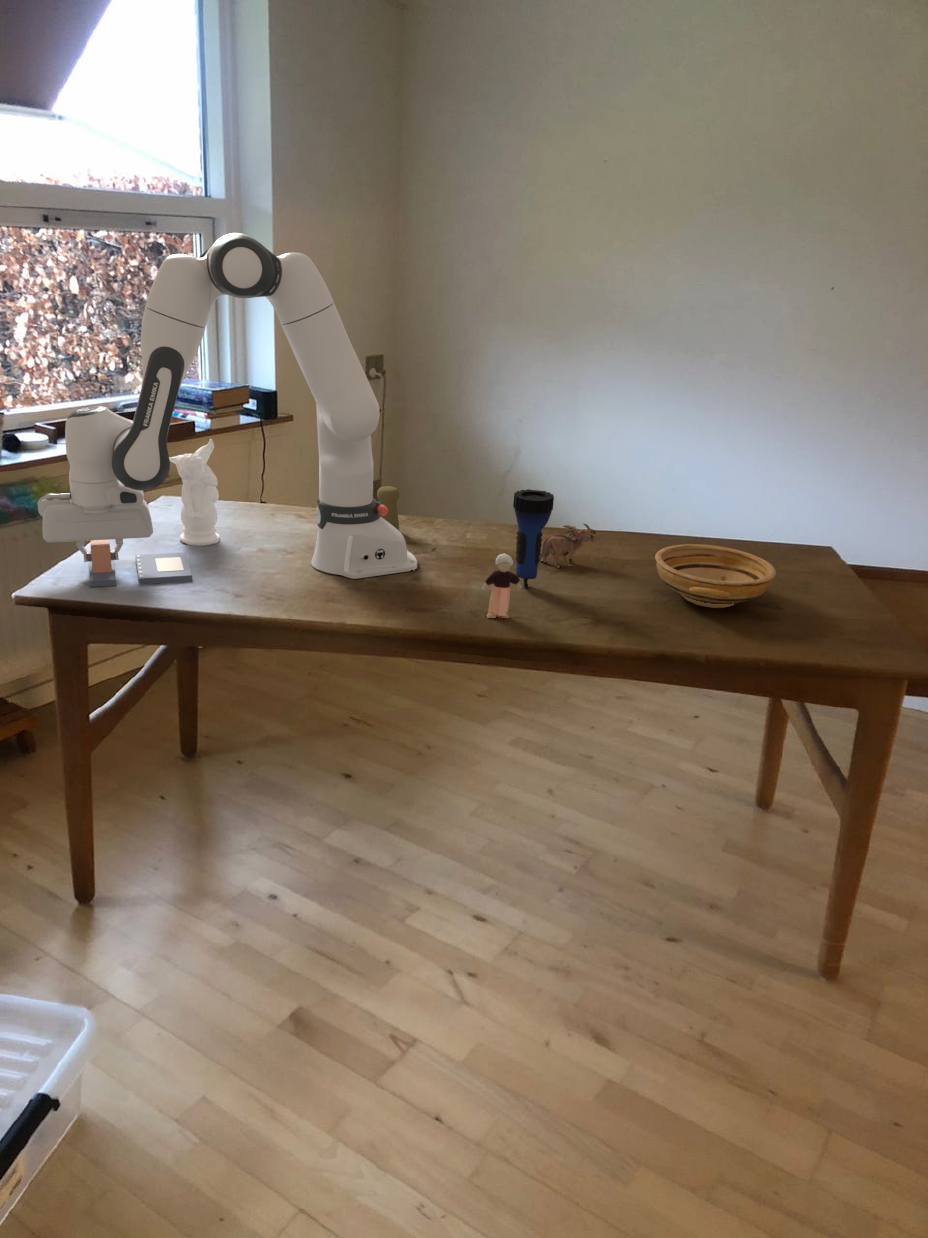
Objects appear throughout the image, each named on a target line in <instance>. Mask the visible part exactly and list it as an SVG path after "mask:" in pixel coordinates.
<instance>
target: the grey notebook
mask: <svg viewBox="0 0 928 1238" xmlns="http://www.w3.org/2000/svg"><path fill="white" fill-rule="evenodd" d="M135 564H136V569H137V577H138V582H139V585H148V584H151V585H153V584H162V583H163V584H164V583H180V582H182V583H183V582H193V574H192V570H191V567H190V564H189V560H188V557H187V554H186V552H168V553H152V554H150V553H149V554H135Z"/></svg>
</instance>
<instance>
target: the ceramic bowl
mask: <svg viewBox="0 0 928 1238" xmlns="http://www.w3.org/2000/svg"><path fill="white" fill-rule="evenodd" d="M654 559H655V561H656V565H655V566H656V570H657V573H658V575H659V577H660V579H661V580H662V582H663V583H664V585H665V586H667V587H668V588H670V589H671V590H673V591H674V592H676V593H678V594H680V595H681V596H682V595H684V596H686V597H688V598H691V599H693V600H696V601H700V602H704V603H711V604H732V603H736V604H737V603H742V602H748V601H751V600H754V599H756V598H758V597H760V596H761V595H763V594H764V593H765V592H766V591H767V590H768V588H769V587H770V585H771V583H772V582H773V579H774V578H775V577H776V573H777V571H776V569H775V567H774V566H773V564H771V563H770V562H769V561H767V560H765V559H764V558H762V557H759V556H756V555H755V554H753V553H749V552H746V551H743V550H739V549H735V548H730V547H726V546H720V545H712V544H698V543H696V544H694V543H688V544H676V545H671V546H666V547H664V548H662V549H660V550H658V551H657V552H656V553H655V555H654Z"/></svg>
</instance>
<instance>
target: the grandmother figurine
mask: <svg viewBox="0 0 928 1238" xmlns="http://www.w3.org/2000/svg"><path fill="white" fill-rule="evenodd" d="M513 564H514V560H513V559H512V556H510V554H507V553H501V554H500V553H499V554H498V555H497V557H496V558H495V565H496V568H497V570H495V571H493V572H492V573H491V574H490V575H489V576H488V577H487V578H486V579H485V581H484V583H483V586H481V589H480V590H481V591H482V592H487V589H488V588H489V587H490V586H491V585H492V588H491V592H490V597H489V603H488V610H487V611H488V613H487V615H486V616H487V617H488V618H496V617H499V618H500V617H501V618H508V617H509V618H510V615H509V614H508V611H509V606H510V605H509V604H510V599H511V598H510V597H511V584H513V585H515V587H516V590H518V591H520V590H522V585H521V582H520V580H521V578H519V577H517V575H516V573H514V572H511V571H510V569H511V567H512V566H513ZM488 618H487V619H488ZM501 618H500V619H501ZM509 618H508V619H509ZM496 619H497V618H496Z"/></svg>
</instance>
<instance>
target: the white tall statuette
mask: <svg viewBox="0 0 928 1238" xmlns="http://www.w3.org/2000/svg"><path fill="white" fill-rule="evenodd" d="M214 444H215V443H214V441H213V439H212V438H209V441H208V443H207V444H206V445H205V444H204V445H203V446H201V447H199V448H198V449H196V451H195V452H194V453H184V454H179V455H175V456H171V457H170V456H169V460H170V463H172V464H175V466H176V471H177V472H178V473H177V475H178V476H179V477H180V478H181V482H182V487H181V502H182V504H183V505H182V507H181V510H180V511H181V512H180V520H181V522H182V524H183V529H182V531H183V533H181V534H180V536H179V538H180V539H179V540H180V542H182V543H184V544H186V545H189V546H195V547H197V546H198V547H201V546H202V547H203V546H204V547H205V546H211V545H213V544H217V543H219V542H220V538H221V537H220V535H219V533H217V528H216V526H217V525H216V524H217V522H218V511H217V508H216V505H215V503H217V502H218V501H219V497H220V493H219V490H218V488H217V486H218V485H219V484H218V478H217V476H216V474H215V473H214V472H213V470H212V469H211V467H210V466H209V464H207V463H208V461H209V460H210V455H211V454H212V453H213V451H214V448H215V445H214ZM218 541H219V542H218Z"/></svg>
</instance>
